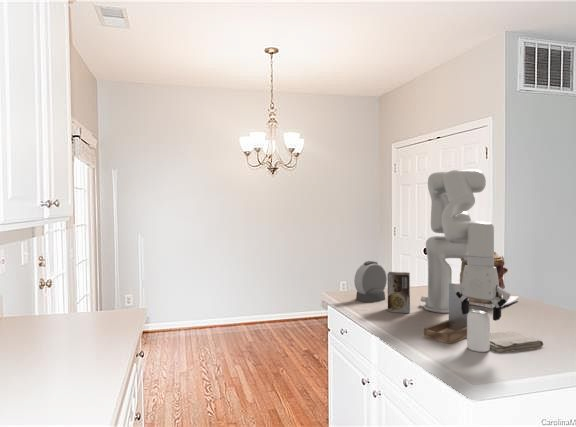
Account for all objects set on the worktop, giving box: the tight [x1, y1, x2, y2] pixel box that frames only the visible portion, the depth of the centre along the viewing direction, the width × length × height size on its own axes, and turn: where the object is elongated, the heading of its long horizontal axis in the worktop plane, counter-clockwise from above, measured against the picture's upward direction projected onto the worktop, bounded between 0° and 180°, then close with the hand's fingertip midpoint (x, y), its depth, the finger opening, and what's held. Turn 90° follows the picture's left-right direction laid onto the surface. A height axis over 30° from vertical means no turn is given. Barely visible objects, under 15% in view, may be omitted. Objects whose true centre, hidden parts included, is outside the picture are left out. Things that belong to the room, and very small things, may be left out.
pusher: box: [448, 283, 469, 330], centre depth 147 cm, size 7×1×16 cm, turn 39°
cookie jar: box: [459, 251, 519, 310], centre depth 193 cm, size 25×25×32 cm
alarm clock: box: [354, 260, 388, 304], centre depth 196 cm, size 16×10×18 cm, turn 120°
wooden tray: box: [423, 319, 467, 345], centre depth 143 cm, size 10×17×3 cm, turn 129°
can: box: [466, 308, 491, 353], centre depth 129 cm, size 6×6×12 cm
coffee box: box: [386, 271, 411, 314], centre depth 176 cm, size 9×6×16 cm
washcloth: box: [490, 330, 544, 353], centre depth 134 cm, size 12×18×3 cm, turn 108°
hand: (480, 316), depth 129 cm, fingers open, 9 cm apart
